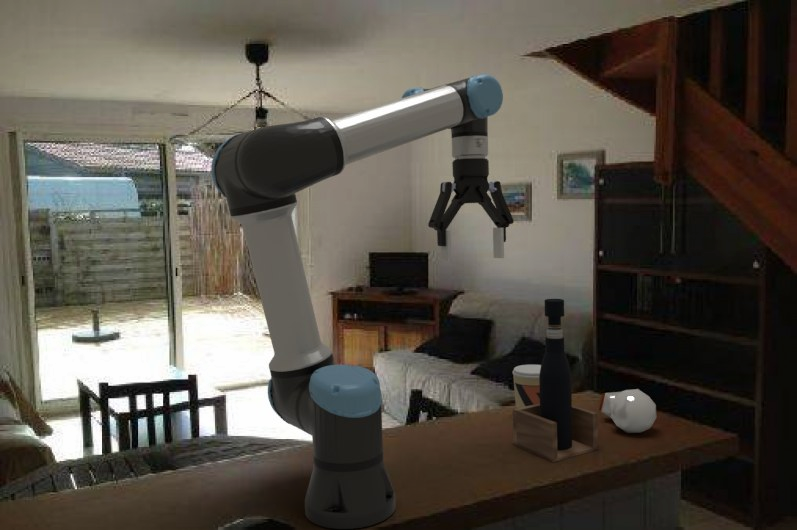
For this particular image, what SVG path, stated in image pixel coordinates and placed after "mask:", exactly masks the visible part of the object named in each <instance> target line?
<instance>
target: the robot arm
mask: <svg viewBox="0 0 797 530" xmlns="http://www.w3.org/2000/svg"><path fill="white" fill-rule="evenodd" d="M503 99H504V95H503V89H502V86H501V84H500V82H499V80H497V78H495V77H494V76H492V75H491V74H487V73H485V74H479V75H478V74H475V75H472V76H470V77H467V78H463V79H460V80H457V81H454V82H450V83H446V84H442V85H439V86H435V87H432V88H422V87H419V88H418V87H417V88H413V87H411V88H408V89H406V91H404V93H403V94H402V96H401V98H398V99H395V100H391V101H388V102H385V103H381V104H380V105H379V104H378V105H376V106H372V107H369V108H366V109H362V110H360V111H359V110H358V111H356V112H353V113H350V114H346V115H343V116H340V117H336V118H334V119H329V118H327V117H325V116H317V117H314V118H311V119H307V120H303V121H297V122H291V123H282V124H273V125H267V126H263V127H259V128H255V129H253V130H250V131H244V132H241V133H238V134H235V135H233V136H231V137H229V138H228V139H227V140H226V141H224V142H223V143H222V144H221V145H220V146H218V148H217V150H216V152H215V153H214V155H213V158H212V162H211V169H210V170H211V178H212V181H213V183H214V186H215V187H216V189H217V191H219V193H220V194H221V195H222V196H223V197H224V198H226V202H227V206H228V211H229V215H230V218H231V219H232V220H234V221H236V223H238V224H240V225H241V226H242V229H243V232H244V238H245V242H246V246H247V249H248V252H249V257H250V261H251V265H252V269H253V273H254V277H255V281H256V285H257V290H258V293H259V297H260V302H261V304H262V309H263V313H264V316H265V318H264V319H265V321H266V325H267V329H268V333H269V337H270V340H271V341H270V342H271V345H272V346H271V347H272V349H273V353H274V354H273V357H272V358H271V360H270V361H269V363H268V370H269V373H270V378H269V380H268V384H267V396H268V397H267V398H268V401H269V404H270V406H271V409H272V410H273V411H274V413H276V415H278V417H279V418H280V419H281V420H283V421H284V422H285V423H286V424H289V425H290V426H293V427H295V428H297V429H298V430H301V431H302V432H304V433H306V434H308V435H310V436H311V437H312V455H313V459H312V460H313V469H312V471H311V474H310V475H311V476H310V480H309V483H308V485H307V490H306V494H305V497H304V510H305V511H304V514H305V516H306V518H307V520H308V521H309V522H311V523H313V524H315V525H317V526H319V527H323V528H328V529H336V530H354V529H360V528H361V529H362V528H366V527H370V526H373V525H377V524H380V523H381V522H383V521H385V520H387V519H388V518H389V517H391V516H392V515H393V514H394V512H395V510H396V493H395V490H394V487H393V484H392V482H391V479H390V476H389V474H388V471H387V468H386V465H385V463H384V462H385V461H384V445H383V442H384V441H383V440H384V439H383V415H382V414H383V413H382V410H383V409H382V408H383V407H382V403H383V395H382V391H381V383H380V380H379V377H378V376H377V374H376V373H374V372H373V371H372V370H370V369H368V368H366V367H363V366H359V365H351V364H336V362H335V359H334V358H335V357H334V354H333V350H332V348H331V347H329V346H328V345H326V344H324V343H323V342H322V341H321V337H320V331H319V327H318V323H317V318H316V316H315V310H314V305H313V301H312V297H311V293H310V289H309V284H308V280H307V277H306V271H305V268H304V264H303V258H302V256H301V251H300V246H299V242H298V238H297V234H296V229H295V225H294V220H293V216H292V214H293V211H294V210H295V208H296V207H297V205H298V200H297V195H296V194H297V193H299V192H300V191H303V190H305V189H307V188H309V187H311V186H314V185H317V184H319V183H320V182H322V181H325V180H327V179H329V178H332V177H335V176H339V174H342V173H343V171H344V170H345V166H347V165H350V164H352V163H355V162H359V161H361V160H364V159H366V158H370V157H373V156H375V155H377V154H381V153H383V152H386V151H388V150H392V149H395V148H398V147H400V146H404V145H405V144H408V143H411V142H415V141H417V140H420V139H422V138H423V139H424V138H425V137H428V136H432V135H434V134H437V133H440V132H442V131H445V130H450V133H451V158H453V161H452V177H453V179H454V180H453V183H452V182H451V181H444V182H443V181H442V182H441V183H440V185H439V186H440V191H439V194H438V195H439V196H438V197H437V200H436V203H435V205H434V208H433V211H432V213H431V216H430V218H429V221H428V223H427V226H428V228H431V229H434V231H436V236H437V237H436V238H437V240H436V241H437V246H438V247H440V262H441V263H450V264H451V263H452V243H451V242H452V241H451V240H452V239H451V238H452V237H451V230H447V229H448V228H449V226H450V224H452V222H453V220H454V219H455V217H456V215H457V214H458V213H459V211H460V209H461V208H462V207H463V206H464V205H465V204H478V205H480V206H481V207H482V208H483V210H484V211H485V213H486V215H488V217H489V218H490V219H491V221H492V223H493V225H495V227H492V241H493V243H492V245H493V251H492V252H493V258H494V259H504V258H505V242H507V241H506V240H507V230H506V229H507V228H509V227H510V225H511V224H513V223H514V221H515V220H514V218H513V216H512V213H511V211H510V208H509V206H508V204H507V201H506V199H505V196H504V194H503V191H502V185H501V182H500V181H499V180H498V181H497V180H495V181H490V182H489V181H488V176H489V173H490V168H489V165H490V164H489V160H488V158H486V157H487V156H489V137H488V136H489V135H488V133H489V131H488V129H489V127H488V125H489V123H488V117H490V116H494V115H495V114H497V113H498V112H499V110H500V109H501V108H502V104H503V102H504V101H503ZM453 192H454V193H455V195H454V196H453V197H452V199H451V196H452V193H453ZM487 192H489V194H488V193H487ZM450 199H451V202H450ZM449 203H450V204H449ZM448 204H449V205H448Z"/></svg>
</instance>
